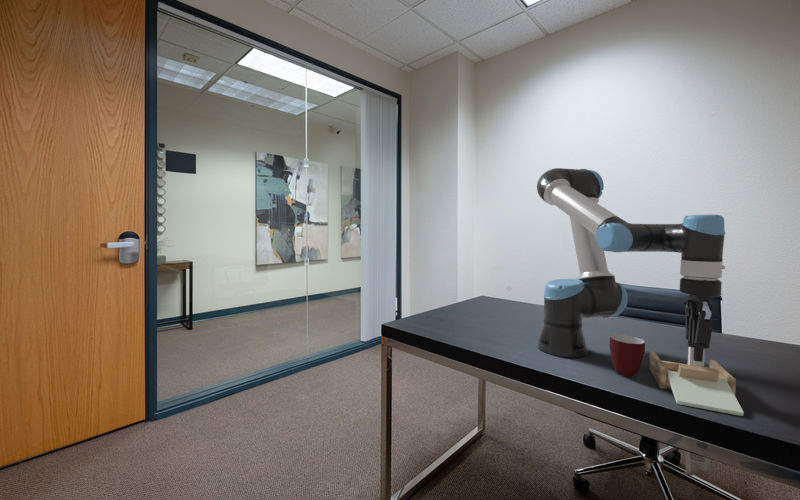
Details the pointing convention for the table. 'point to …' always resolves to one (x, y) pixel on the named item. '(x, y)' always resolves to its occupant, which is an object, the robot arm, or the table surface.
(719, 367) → the birch box
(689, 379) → the lid
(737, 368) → the table surface
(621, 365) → the mug
